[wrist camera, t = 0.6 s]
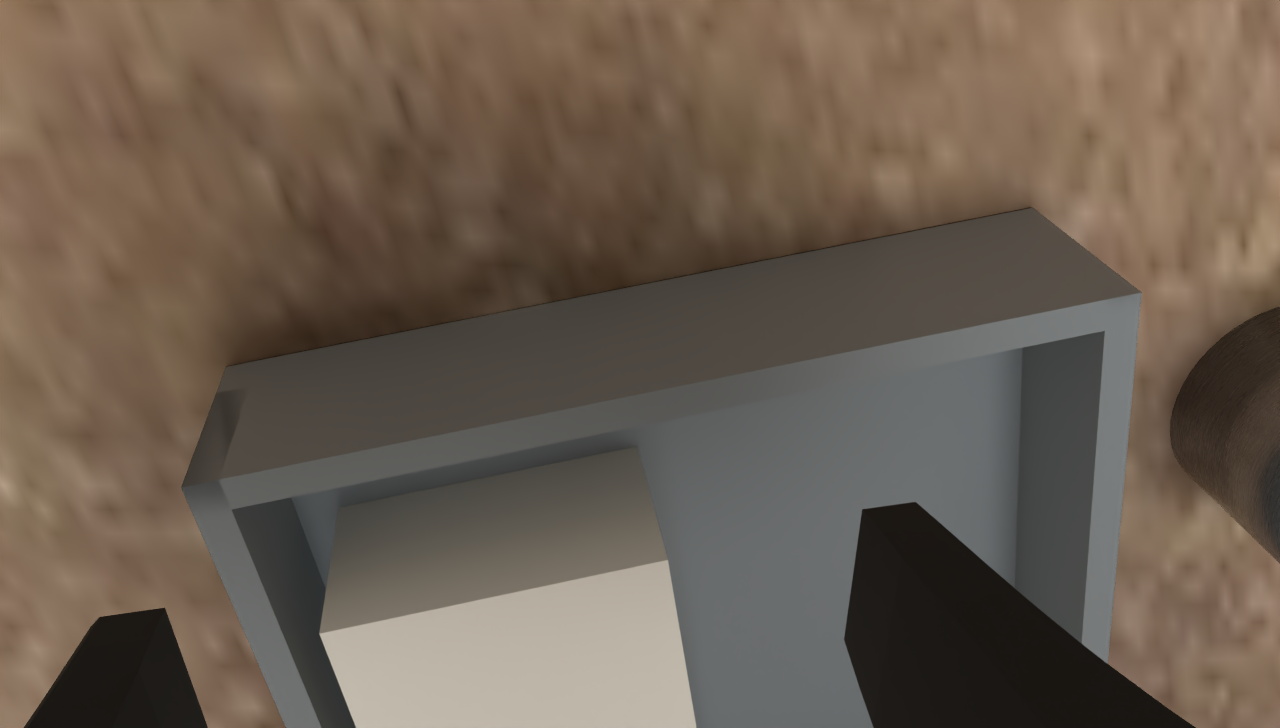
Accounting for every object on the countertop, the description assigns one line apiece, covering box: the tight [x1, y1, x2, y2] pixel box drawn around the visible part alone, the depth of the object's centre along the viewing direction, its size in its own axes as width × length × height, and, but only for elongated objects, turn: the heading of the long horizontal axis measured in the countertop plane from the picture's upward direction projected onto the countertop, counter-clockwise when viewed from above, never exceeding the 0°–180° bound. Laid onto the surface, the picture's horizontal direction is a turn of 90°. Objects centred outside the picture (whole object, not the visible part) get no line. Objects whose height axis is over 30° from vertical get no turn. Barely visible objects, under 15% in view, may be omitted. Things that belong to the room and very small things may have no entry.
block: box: [319, 446, 696, 728], centre depth 23 cm, size 10×6×4 cm, turn 8°
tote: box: [181, 208, 1142, 728], centre depth 24 cm, size 16×16×4 cm
